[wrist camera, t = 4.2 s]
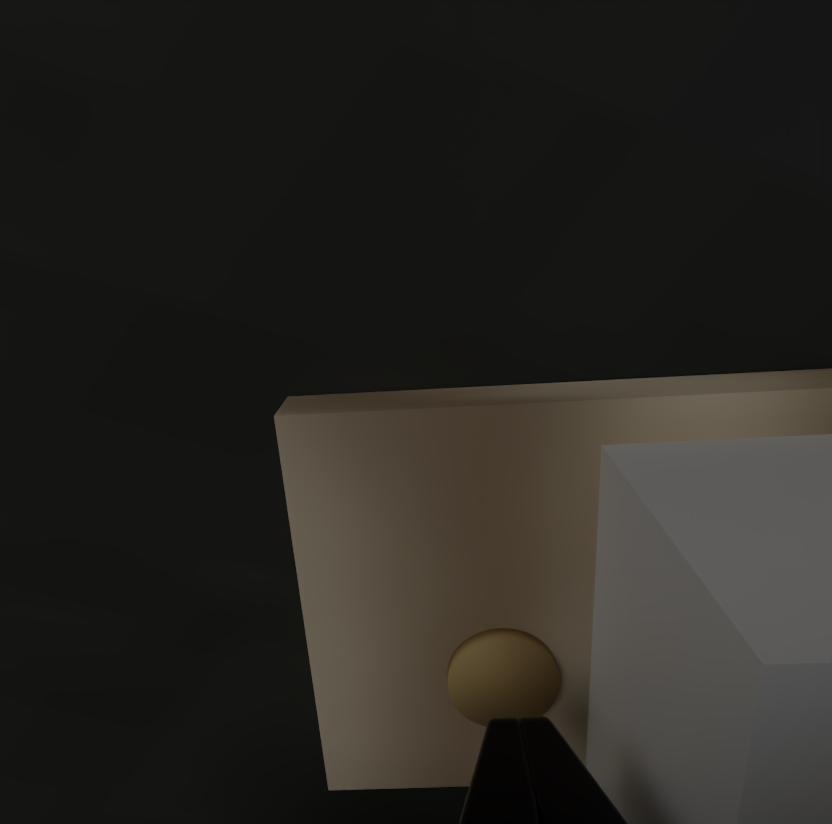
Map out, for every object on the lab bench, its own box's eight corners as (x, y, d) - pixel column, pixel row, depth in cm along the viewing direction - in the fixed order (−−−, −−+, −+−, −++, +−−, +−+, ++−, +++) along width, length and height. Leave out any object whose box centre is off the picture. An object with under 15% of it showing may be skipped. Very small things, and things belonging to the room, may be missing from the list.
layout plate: (335, 747, 13) (326, 804, 12) (287, 396, 10) (268, 422, 9) (1199, 719, 12) (1285, 777, 11) (1384, 340, 10) (1526, 359, 8)
